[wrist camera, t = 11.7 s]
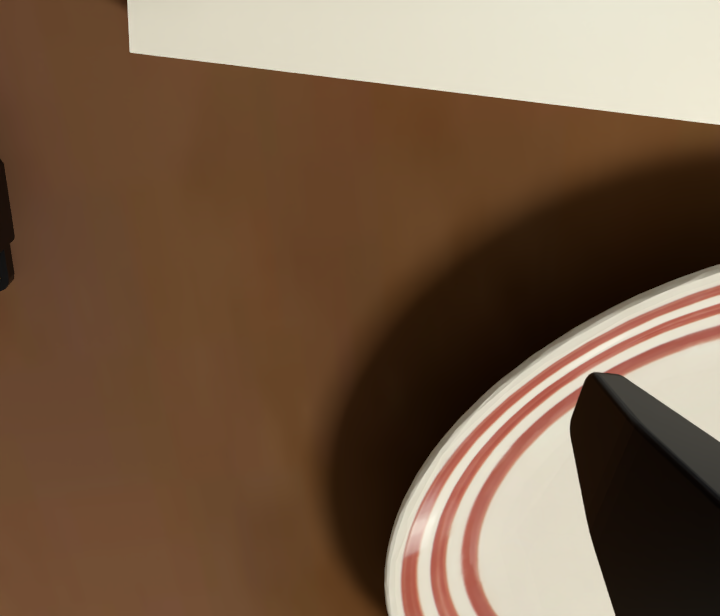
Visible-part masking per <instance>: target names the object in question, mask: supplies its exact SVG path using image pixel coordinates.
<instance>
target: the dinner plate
mask: <svg viewBox="0 0 720 616" xmlns="http://www.w3.org/2000/svg"><path fill="white" fill-rule="evenodd" d="M593 372H602V373H613V374H619V375H622V376H624V377H625V378H627V379H628V380H629V381H631V382H632V383H634V384H635V385H637V386H638V387H640V388H641V389H643V390H644V391H646V392H647V393H649V394H650V395H652V396H653V397H655V398H656V399H658V400H659V401H660V402H662V403H663V404H665V405H666V406H668V407H669V408H671V409H672V410H674V411H675V412H677V413H678V414H680V415H681V416H683V417H684V418H686V419H687V420H689V421H690V422H691V423H693V424H694V425H696V426H697V427H699V428H700V429H702V430H703V431H705V432H706V433H708V434H709V435H711V436H712V437H714V438H715V439H717V440H718V441H719V442H720V264H719V265H715V266H712V267H709V268H706V269H703V270H700V271H697V272H695V273H692V274H689V275H686V276H683V277H680V278H677V279H675V280H672V281H670V282H668V283H665V284H663V285H660V286H658V287H655V288H653V289H650V290H648V291H646V292H643V293H641V294H638V295H636V296H634V297H632V298H630V299H628V300H626V301H624V302H622V303H620V304H618V305H616V306H614V307H612V308H610V309H608V310H606V311H604V312H602V313H600V314H599V315H597V316H595V317H593V318H591V319H590V320H588V321H586V322H584V323H582V324H580V325H579V326H577V327H575V328H573V329H572V330H570V331H569V332H567V333H566V334H564V335H563V336H561V337H559V338H558V339H556V340H555V341H553V342H552V343H550V344H549V345H547V346H545V347H544V348H542V349H541V350H539V351H538V352H536V353H535V354H533V355H532V356H530V357H529V358H528V359H527V360H525V361H524V362H523V363H521V364H520V365H519V366H517V367H516V368H515V369H514V370H512V371H511V372H510V373H508V374H507V375H506V376H504V377H503V378H502V379H500V380H499V381H498V382H497V383H496V384H495V385H493V386H492V387H491V388H490V389H489V390H488V391H487V392H486V393H484V394H483V395H482V396H481V397H480V398H479V399H478V400H477V401H476V402H475V403H474V404H473V405H472V406H471V407H470V408H469V409H468V410H467V411H466V412H465V413H464V414H463V415H462V416H461V417H460V418H459V420H458V421H457V422H456V423H455V424H454V425H453V426H452V427H451V429H450V430H449V431H448V432H447V433H446V434H445V435H444V437H443V438H442V439H441V440H440V442H439V443H438V444H437V446H436V447H435V448H434V449H433V451H432V452H431V453H430V455H429V456H428V458H427V459H426V461H425V462H424V464H423V465H422V467H421V468H420V470H419V471H418V473H417V475H416V476H415V478H414V480H413V482H412V484H411V486H410V488H409V490H408V491H407V493H406V495H405V497H404V499H403V501H402V504H401V506H400V509H399V511H398V514H397V516H396V519H395V522H394V526H393V529H392V532H391V536H390V540H389V545H388V549H387V556H386V564H385V579H384V587H385V600H386V607H387V612H388V616H615V613H614V610H613V607H612V604H611V600H610V597H609V594H608V591H607V588H606V585H605V582H604V578H603V575H602V572H601V569H600V566H599V563H598V560H597V556H596V553H595V550H594V547H593V543H592V540H591V536H590V533H589V529H588V524H587V520H586V515H585V510H584V505H583V500H582V495H581V489H580V484H579V479H578V474H577V469H576V464H575V458H574V453H573V448H572V443H571V438H570V421H571V417H572V414H573V411H574V408H575V406H576V403H577V400H578V397H579V395H580V392H581V389H582V386H583V383H584V381H585V379H586V377H587V376H588V375H589V374H591V373H593Z"/></svg>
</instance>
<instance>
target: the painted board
mask: <svg viewBox="0 0 720 616" xmlns="http://www.w3.org/2000/svg"><path fill="white" fill-rule="evenodd" d="M127 4H128V24H129V45H130V53H138V54H147V55H155V56H163V57H171V58H179V59H187V60H196V61H204V62H212V63H220V64H228V65H236V66H245V67H253V68H261V69H269V70H277V71H285V72H294V73H302V74H310V75H318V76H326V77H334V78H343V79H351V80H359V81H367V82H375V83H383V84H392V85H400V86H408V87H416V88H424V89H432V90H441V91H449V92H457V93H465V94H473V95H481V96H490V97H498V98H506V99H514V100H522V101H530V102H538V103H547V104H555V105H563V106H571V107H579V108H587V109H596V110H604V111H612V112H620V113H628V114H636V115H645V116H653V117H661V118H669V119H677V120H685V121H694V122H702V123H710V124H718V125H720V0H127Z"/></svg>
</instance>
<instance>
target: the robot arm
mask: <svg viewBox="0 0 720 616" xmlns="http://www.w3.org/2000/svg"><path fill="white" fill-rule="evenodd" d="M14 237H15V236H14V229H13V222H12V216H11V209H10V202H9V196H8V189H7V182H6V176H5V169H4V163H3V162H2V161H1V159H0V278H1V279H0V291H2V290H4V289H6V288H7V287H8V285H9V284H10V283H11V282H12V281H13V279H14V268H13V262H12V255H11V249H10V243H11V242H12V241H13V240H14ZM570 438H571V443H572V448H573V453H574V458H575V464H576V469H577V474H578V479H579V484H580V489H581V495H582V500H583V505H584V510H585V515H586V520H587V524H588V529H589V533H590V536H591V540H592V543H593V547H594V550H595V553H596V556H597V560H598V563H599V566H600V569H601V572H602V575H603V578H604V582H605V585H606V588H607V591H608V594H609V597H610V600H611V604H612V607H613V610H614V613H615V616H720V442H719V441H718V440H717V439H715V438H714V437H712V436H711V435H709V434H708V433H706V432H705V431H703V430H702V429H700V428H699V427H697V426H696V425H694V424H693V423H691V422H690V421H689V420H687V419H686V418H684V417H683V416H681V415H680V414H678V413H677V412H675V411H674V410H672V409H671V408H669V407H668V406H666V405H665V404H663V403H662V402H660V401H659V400H658V399H656V398H655V397H653V396H652V395H650V394H649V393H647V392H646V391H644V390H643V389H641V388H640V387H638V386H637V385H635V384H634V383H632V382H631V381H629V380H628V379H627V378H625V377H624V376H622V375H619V374H613V373H602V372H593V373H591V374H589V375H588V376H587V377H586V379H585V381H584V383H583V386H582V389H581V392H580V395H579V397H578V400H577V403H576V406H575V408H574V411H573V414H572V417H571V421H570Z"/></svg>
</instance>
